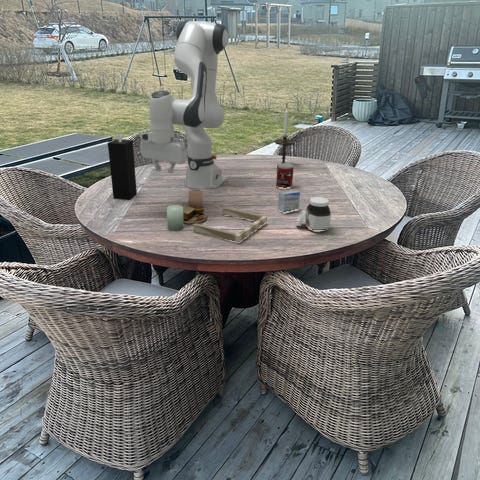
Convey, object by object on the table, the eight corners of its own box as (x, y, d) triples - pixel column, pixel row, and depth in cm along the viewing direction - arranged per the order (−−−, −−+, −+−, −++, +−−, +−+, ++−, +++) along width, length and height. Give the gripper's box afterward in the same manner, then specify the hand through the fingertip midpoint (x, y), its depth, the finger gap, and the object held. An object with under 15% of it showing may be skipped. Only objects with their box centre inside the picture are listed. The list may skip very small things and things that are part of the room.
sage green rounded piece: (174, 223, 172) (173, 203, 169) (186, 226, 169) (186, 206, 166) (164, 228, 167) (163, 208, 164) (177, 232, 165) (176, 211, 161)
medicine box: (282, 214, 183) (284, 194, 180) (277, 211, 187) (278, 191, 183) (298, 211, 187) (300, 192, 183) (292, 208, 190) (294, 188, 186)
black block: (129, 200, 195) (124, 136, 183) (113, 199, 196) (106, 134, 184) (137, 194, 202) (132, 132, 190) (121, 193, 203) (115, 131, 191)
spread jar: (331, 233, 167) (335, 203, 162) (304, 236, 164) (306, 206, 159) (317, 221, 177) (320, 193, 172) (291, 223, 174) (293, 195, 169)
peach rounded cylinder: (194, 204, 192) (193, 188, 189) (205, 206, 190) (205, 191, 187) (185, 208, 187) (185, 192, 185) (197, 211, 185) (197, 195, 182)
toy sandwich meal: (196, 227, 169) (196, 216, 167) (167, 221, 175) (166, 209, 173) (212, 217, 180) (212, 206, 178) (184, 211, 185) (183, 200, 183)
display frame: (224, 213, 182) (224, 206, 181) (266, 223, 174) (267, 216, 172) (193, 232, 165) (192, 224, 164) (238, 243, 156) (239, 236, 155)
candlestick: (287, 170, 244) (291, 104, 229) (270, 167, 249) (273, 102, 234) (296, 166, 252) (301, 102, 237) (279, 163, 257) (283, 100, 243)
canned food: (274, 188, 214) (275, 166, 210) (279, 184, 221) (280, 162, 216) (289, 190, 212) (290, 168, 207) (293, 186, 218) (295, 164, 214)
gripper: (189, 138, 168) (190, 173, 174) (147, 131, 177) (149, 165, 183) (179, 141, 163) (181, 177, 169) (136, 134, 172) (139, 169, 178)
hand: (164, 171), depth 176 cm, fingers open, 5 cm apart
